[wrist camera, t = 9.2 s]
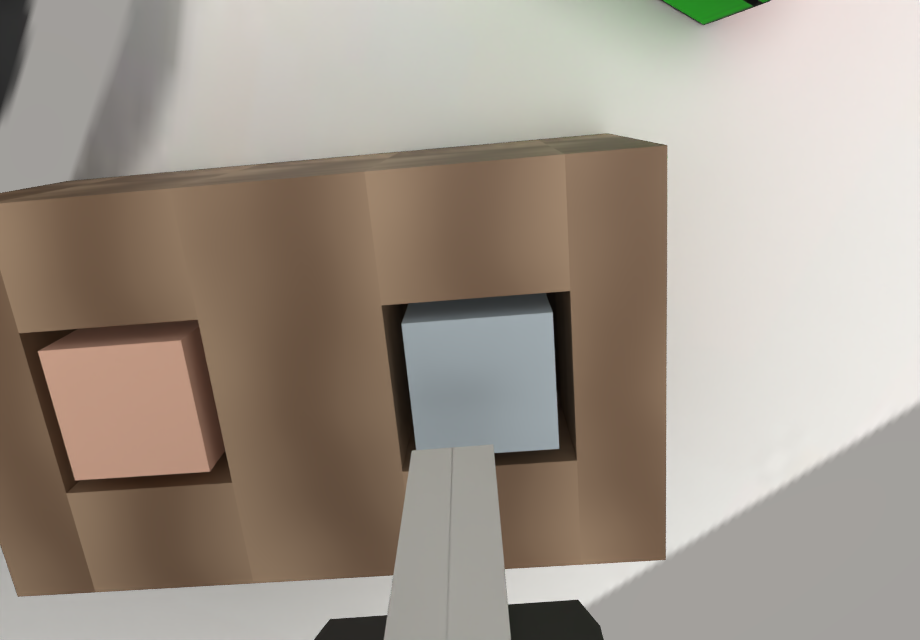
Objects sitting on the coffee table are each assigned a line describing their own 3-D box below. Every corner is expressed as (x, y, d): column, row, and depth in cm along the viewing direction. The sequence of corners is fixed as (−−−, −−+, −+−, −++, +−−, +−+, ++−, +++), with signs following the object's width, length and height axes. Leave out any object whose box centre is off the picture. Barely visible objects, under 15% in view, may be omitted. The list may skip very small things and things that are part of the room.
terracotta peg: (182, 381, 27) (75, 480, 20) (160, 283, 26) (37, 351, 18) (282, 373, 27) (210, 471, 19) (264, 274, 25) (180, 340, 18)
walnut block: (140, 466, 29) (17, 596, 21) (67, 181, 25) (-112, 212, 18) (613, 435, 28) (665, 559, 20) (607, 133, 24) (666, 145, 17)
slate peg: (433, 362, 26) (417, 458, 19) (423, 262, 25) (401, 323, 18) (536, 355, 26) (559, 448, 19) (530, 253, 25) (552, 312, 18)
